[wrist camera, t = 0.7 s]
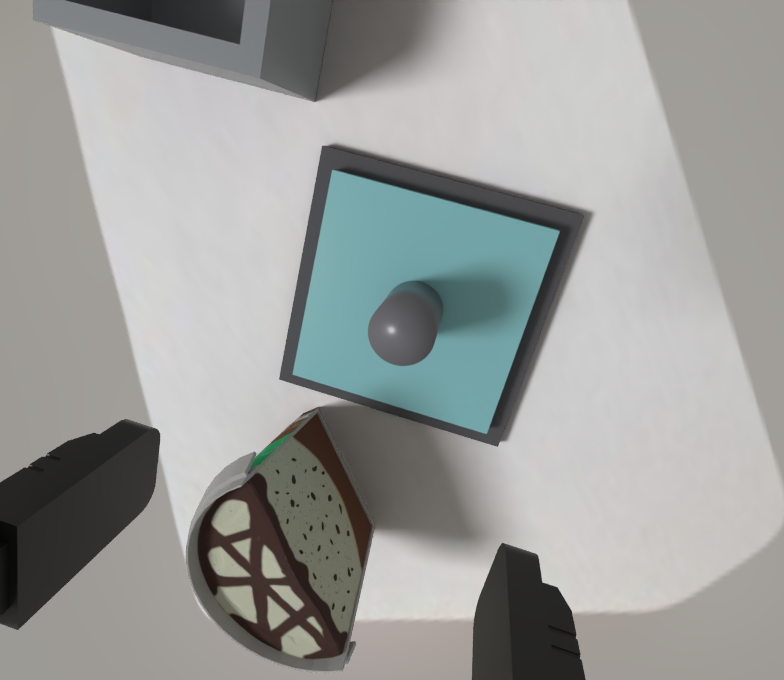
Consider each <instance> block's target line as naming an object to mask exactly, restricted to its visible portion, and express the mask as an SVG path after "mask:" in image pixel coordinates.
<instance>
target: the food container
mask: <svg viewBox="0 0 784 680" xmlns="http://www.w3.org/2000/svg"><path fill="white" fill-rule="evenodd" d="M255 456H256V453H255V452H253V453H250V454H248V455H245V456H243V457H241V458H239V459H237V460H236V461H234V462H233V463H231V464H230V465H228V466H226V467H225V468H224V469H223V470H222V471H221V472H220V473H219V474H218V475H217V476H216V477H215V478H214V480H213V481H212V482H211V484H210V485H209V487H208V488H207V490H206V492H205V494H204V496H203V498H202V500H201V502H200V504H199V506H198V508H197V510H196V512H195V515H194V517H193V519H192V521H191V525H190V530H189V535H188V541H187V546H186V565H187V571H188V576H189V579H190V582H191V585H192V588H193V591H194V593H195V595H196V597H197V599H198V600H199V602H200V604H201V606H202V607H203V609H204V610H205V611H206V613H207V614H208V616H209V617H210V618H211V619H212V621H213V622H214V623H215V624H216V625H217V626H218V627H219V628H220V629H221V630H222V631H223V632H224V633H225V634H227V635H228V636H229V637H230V638H231V639H232V640H233V641H235V642H236V643H238V644H239V645H240V646H242V647H243V648H245V649H246V650H248V651H250V652H252V653H253V654H255V655H257V656H259V657H261V658H263V659H265V660H268V661H270V662H273V663H275V664H278V665H281V666H284V667H288V668H291V669H295V670H301V671H307V672H323V673H330V672H341V671H343V668H344V665H345V664H348V662H349V660H350V657H351V655H352V653H353V651H354V648H355V646H356V642H355V641H354V642H350V639H351V634H352V630H353V625H354V621H355V616H356V611H357V607H358V602H359V598H360V593H361V588H362V584H363V579H364V575H365V570H366V565H367V561H368V556H369V552H370V547H371V542H372V538H373V533H374V529H375V524H374V522H373V520H372V518H371V516H370V514H369V512H368V510H367V507H366V505H365V503H364V501H363V499H362V497H361V495H360V493H359V491H358V489H357V487H356V485H355V483H354V480H353V478H352V476H351V474H350V472H349V470H348V468H347V466H346V464H345V462H344V460H343V458H342V456H341V454H340V451H339V449H338V447H337V445H336V443H335V441H334V439H333V437H332V435H331V433H330V431H329V429H328V427H327V425H326V422H325V420H324V418H323V416H322V414H321V412H320V410H319V408H318V407H317V408H315V409H313V410H310V411H308V412H306V413H303V414H302V415H301V416H300V417H299V418H298V419H296V420H295V421H294V422H293V423H292V424H291V425H290V426H288V427H287V428H286V429H285V430H284V431H283V432H282V433H281V434H280V435H279V436H278V437H277V438H276V439H274V440H273V441H272V442H271V443H270V444H269V445H268V446H267V447H266V448H265V449H264V450H263V451H262V452H261V453H259V454H258V455H257V456H256V457H255Z"/></svg>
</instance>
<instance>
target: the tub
mask: <svg viewBox="0 0 784 680" xmlns="http://www.w3.org/2000/svg"><path fill="white" fill-rule="evenodd" d="M332 2H333V0H33V20H35V21H38V22H41V23H43V24H47V25H49V26H52V27H55V28H58V29H61V30H64V31H67V32H70V33H73V34H76V35H79V36H82V37H85V38H87V39H90V40H93V41H96V42H99V43H102V44H105V45H108V46H111V47H114V48H117V49H120V50H123V51H126V52H129V53H132V54H135V55H137V56H140V57H144V58H148V59H152V60H156V61H159V62H163V63H167V64H171V65H175V66H179V67H183V68H186V69H190V70H194V71H198V72H202V73H206V74H210V75H213V76H217V77H221V78H225V79H229V80H233V81H237V82H240V83H244V84H248V85H252V86H256V87H260V88H264V89H267V90H271V91H275V92H279V93H283V94H287V95H291V96H294V97H298V98H302V99H306V100H310V101H314V102H315V100H316V94H317V88H318V82H319V77H320V71H321V65H322V60H323V54H324V48H325V42H326V37H327V31H328V25H329V19H330V14H331V8H332Z"/></svg>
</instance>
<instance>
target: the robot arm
mask: <svg viewBox="0 0 784 680" xmlns="http://www.w3.org/2000/svg"><path fill="white" fill-rule="evenodd" d="M159 445H160V433H159V431H158V430H157V429H155V428H152V427H149V426H146V425H143V424H140V423H137V422H134V421H131V420H127V419H124V420H121V421H120V422H118V423H116V424H115V425H113V426H112V427H110V428H109V429H107V430H106V431H104V432H103V433H101V434H96V433H92V434H89V435H86V436H82V437H79V438H76V439H73V440H70V441H67V442H66V443H64V444H62V445H61V446H59V447H57V448H56V449H54V450H52V451H51V452H49V453H47V455H46V457H41V458H39V459H38V460H36V461H35V462H33V463H31V464H30V465H29V467H28V468H23V469H22V470H20V471H19V472H17V473H15V474H13V475H12V476H10V477H8V478H7V479H5V480H3V481H2V482H0V624H3V625H6V626H8V627H11V628H14V629H16V630H18V629H19V628H20V627H21V626H23V625H24V624H25V623H26V622H27V621H28V620H29V619H30V618H31V617H32V616H33V615H34V614H35V613H36V612H37V611H38V610H39V609H40V608H41V607H43V605H45V604H46V603H47V602H48V601H49V600H50V599H51V598H52V597H53V596H54V595H55V594H56V593H57V592H58V591H59V590H60V589H61V588H62V587H64V585H66V584H67V583H68V582H69V581H70V580H71V579H72V578H73V577H74V576H75V575H76V574H77V573H78V572H79V571H80V570H81V569H82V568H83V567H84V566H86V565H87V564H88V563H89V562H90V561H91V560H92V559H93V558H94V557H95V556H96V555H97V554H98V553H99V552H100V551H101V550H102V549H103V548H104V547H106V545H108V544H109V543H110V542H111V541H112V540H113V539H114V538H115V537H116V536H117V535H118V534H119V533H120V532H121V531H122V530H123V529H124V528H125V527H127V526H128V525H129V524H130V523H131V522H132V521H133V520H134V519H135V518H136V517H137V516H138V515H139V514H140V513H141V512H142V511H143V510H144V508H145V507H146V506H147V504H148V503H149V501H150V499H151V497H152V494H153V492H154V488H155V483H156V473H157V464H158V455H159ZM472 680H585V675H584V670H583V665H582V660H580V650H579V646H578V641H577V639H576V630H575V625H574V621H573V616H572V611H571V609H570V608H569V606H568V604H567V603H566V601H565V599H564V598H563V596H562V594H561V593H560V591H559V589H558V588H557V587H554V586H551V585H548V584H545V583H542V578H541V571H540V564H539V558H538V555H537V554H535V553H532V552H529V551H526V550H523V549H520V548H517V547H513V546H510V545H507V544H504V543H502V544H501V545H500V547H499V549H498V551H497V554H496V556H495V559H494V561H493V564H492V566H491V569H490V571H489V574H488V576H487V579H486V581H485V584H484V586H483V589H482V591H481V594H480V597H479V600H478V603H477V607H476V612H475V618H474V626H473V662H472Z"/></svg>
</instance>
